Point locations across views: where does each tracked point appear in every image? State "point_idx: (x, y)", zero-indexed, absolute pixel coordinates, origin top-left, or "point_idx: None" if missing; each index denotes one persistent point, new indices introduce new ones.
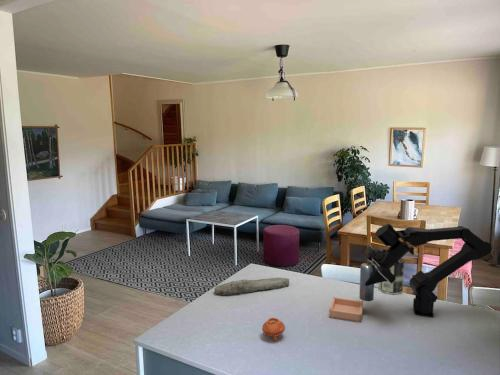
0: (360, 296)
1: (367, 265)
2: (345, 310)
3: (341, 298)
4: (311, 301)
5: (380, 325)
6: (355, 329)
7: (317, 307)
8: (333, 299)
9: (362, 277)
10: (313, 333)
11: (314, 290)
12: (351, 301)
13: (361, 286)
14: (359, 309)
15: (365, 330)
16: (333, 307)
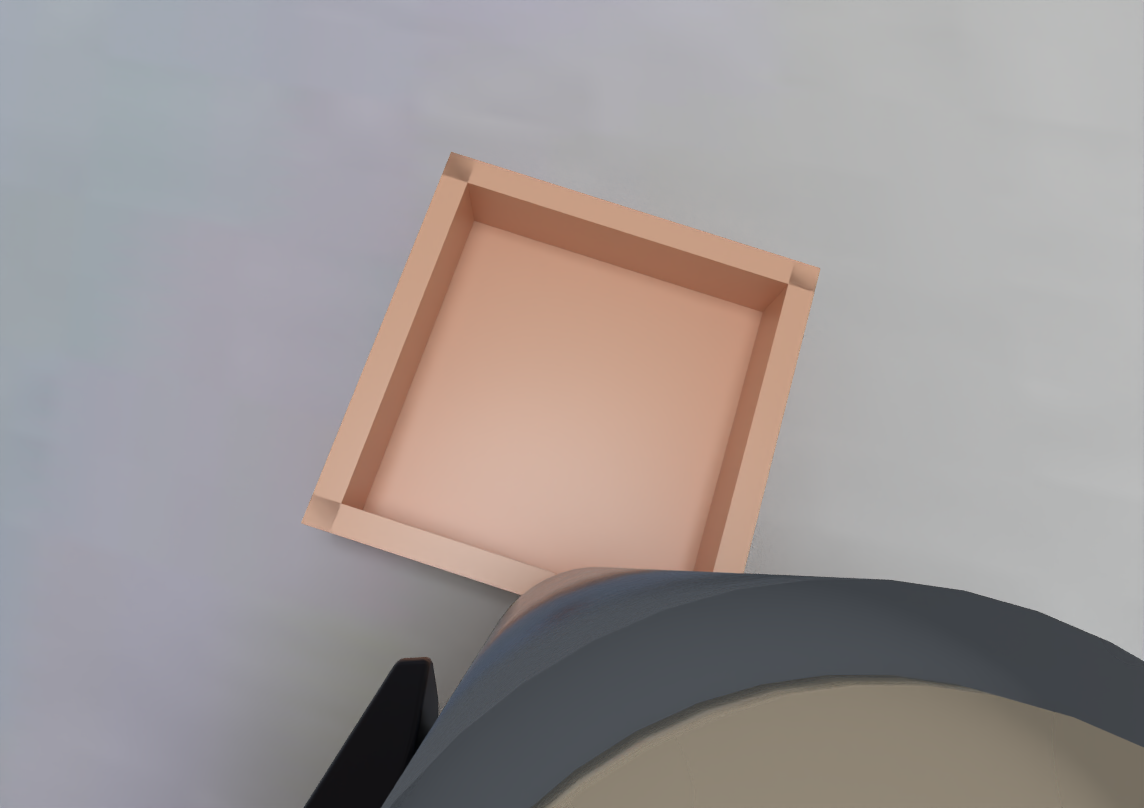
0: (566, 572)
1: None
2: (596, 399)
3: (790, 364)
4: (829, 87)
5: (249, 760)
6: (184, 425)
7: (690, 124)
8: (750, 255)
9: (531, 615)
10: (151, 8)
11: (1121, 158)
12: (730, 490)
13: (554, 586)
14: None
15: (150, 534)
16: (620, 255)
